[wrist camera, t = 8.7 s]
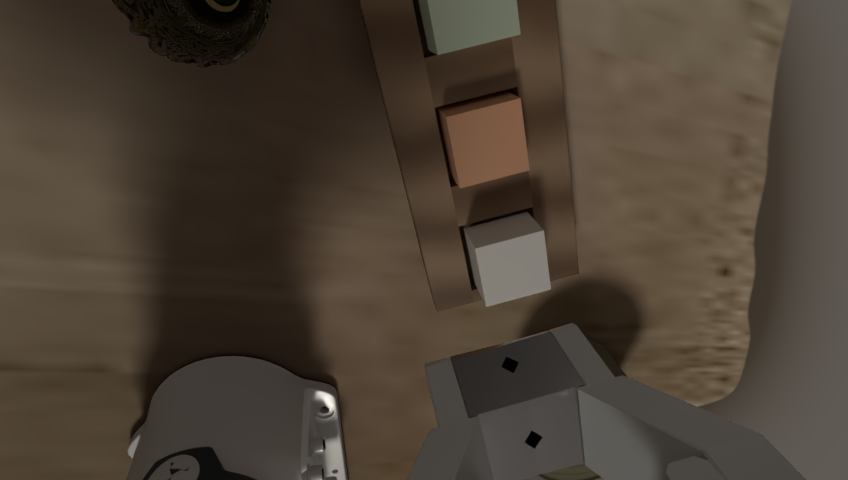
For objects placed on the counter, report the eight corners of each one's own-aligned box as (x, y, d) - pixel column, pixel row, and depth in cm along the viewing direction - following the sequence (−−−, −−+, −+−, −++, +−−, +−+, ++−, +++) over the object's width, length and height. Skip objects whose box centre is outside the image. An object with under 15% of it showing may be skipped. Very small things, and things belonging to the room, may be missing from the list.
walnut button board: (564, 256, 44) (579, 273, 41) (430, 292, 43) (437, 311, 41) (529, -92, 32) (546, -101, 29) (346, -49, 32) (346, -53, 29)
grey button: (534, 267, 40) (551, 289, 37) (474, 283, 40) (486, 307, 37) (527, 211, 38) (543, 230, 35) (463, 228, 38) (475, 248, 35)
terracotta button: (513, 156, 38) (529, 170, 35) (449, 173, 38) (459, 188, 35) (504, 89, 36) (520, 98, 32) (436, 106, 35) (445, 117, 32)
